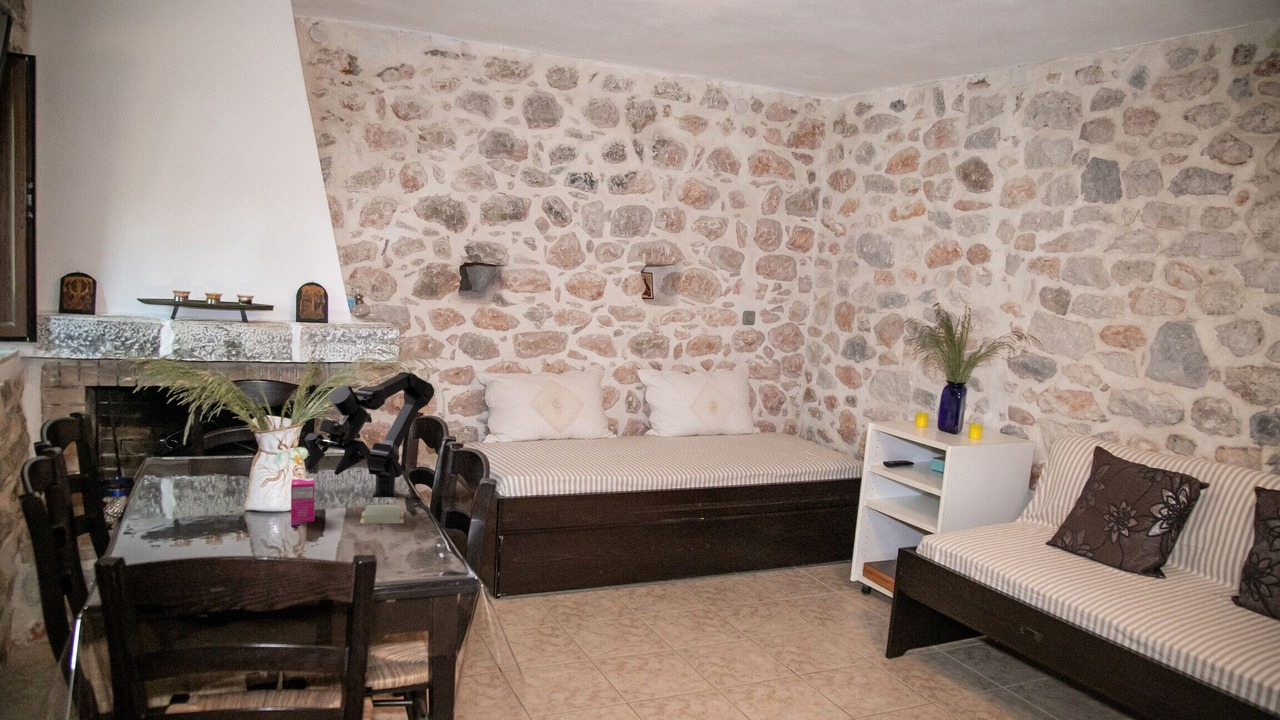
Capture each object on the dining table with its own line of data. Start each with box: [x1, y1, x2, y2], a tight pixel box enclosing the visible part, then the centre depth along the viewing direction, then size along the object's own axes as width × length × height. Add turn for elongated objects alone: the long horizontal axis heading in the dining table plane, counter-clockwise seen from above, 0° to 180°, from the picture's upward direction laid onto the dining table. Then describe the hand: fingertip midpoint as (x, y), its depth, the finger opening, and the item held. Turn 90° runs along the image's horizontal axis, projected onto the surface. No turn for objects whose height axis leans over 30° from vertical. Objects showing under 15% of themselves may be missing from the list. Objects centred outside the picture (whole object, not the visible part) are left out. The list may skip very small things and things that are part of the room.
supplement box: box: [290, 477, 316, 528], centre depth 218 cm, size 6×6×12 cm
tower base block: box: [359, 510, 405, 525], centre depth 224 cm, size 11×11×2 cm
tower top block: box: [364, 504, 401, 522], centre depth 224 cm, size 9×9×2 cm
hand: (321, 471), depth 223 cm, fingers open, 9 cm apart
